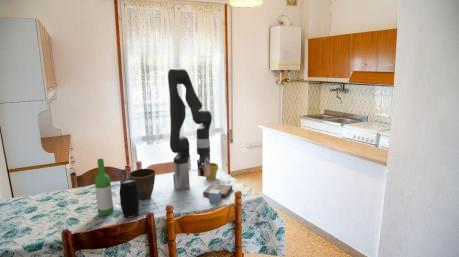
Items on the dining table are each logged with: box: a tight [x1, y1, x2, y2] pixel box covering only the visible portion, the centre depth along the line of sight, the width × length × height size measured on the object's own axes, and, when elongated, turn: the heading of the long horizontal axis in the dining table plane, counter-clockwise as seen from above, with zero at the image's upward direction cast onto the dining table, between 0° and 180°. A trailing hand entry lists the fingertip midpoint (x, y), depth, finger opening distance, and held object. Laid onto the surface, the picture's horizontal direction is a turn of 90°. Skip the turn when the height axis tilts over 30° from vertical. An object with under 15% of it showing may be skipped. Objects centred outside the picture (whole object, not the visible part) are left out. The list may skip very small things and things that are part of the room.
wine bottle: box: [94, 158, 114, 216], centre depth 170 cm, size 8×8×30 cm
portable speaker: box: [119, 177, 140, 219], centre depth 167 cm, size 9×9×20 cm
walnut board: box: [202, 183, 233, 199], centre depth 196 cm, size 14×14×2 cm
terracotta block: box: [197, 164, 211, 178], centre depth 184 cm, size 6×6×6 cm
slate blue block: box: [208, 189, 222, 203], centre depth 185 cm, size 6×6×6 cm
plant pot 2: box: [205, 162, 219, 181], centre depth 220 cm, size 10×10×10 cm
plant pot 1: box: [128, 168, 156, 202], centre depth 189 cm, size 15×15×16 cm
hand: (204, 173), depth 185 cm, fingers closed on terracotta block, 5 cm apart
